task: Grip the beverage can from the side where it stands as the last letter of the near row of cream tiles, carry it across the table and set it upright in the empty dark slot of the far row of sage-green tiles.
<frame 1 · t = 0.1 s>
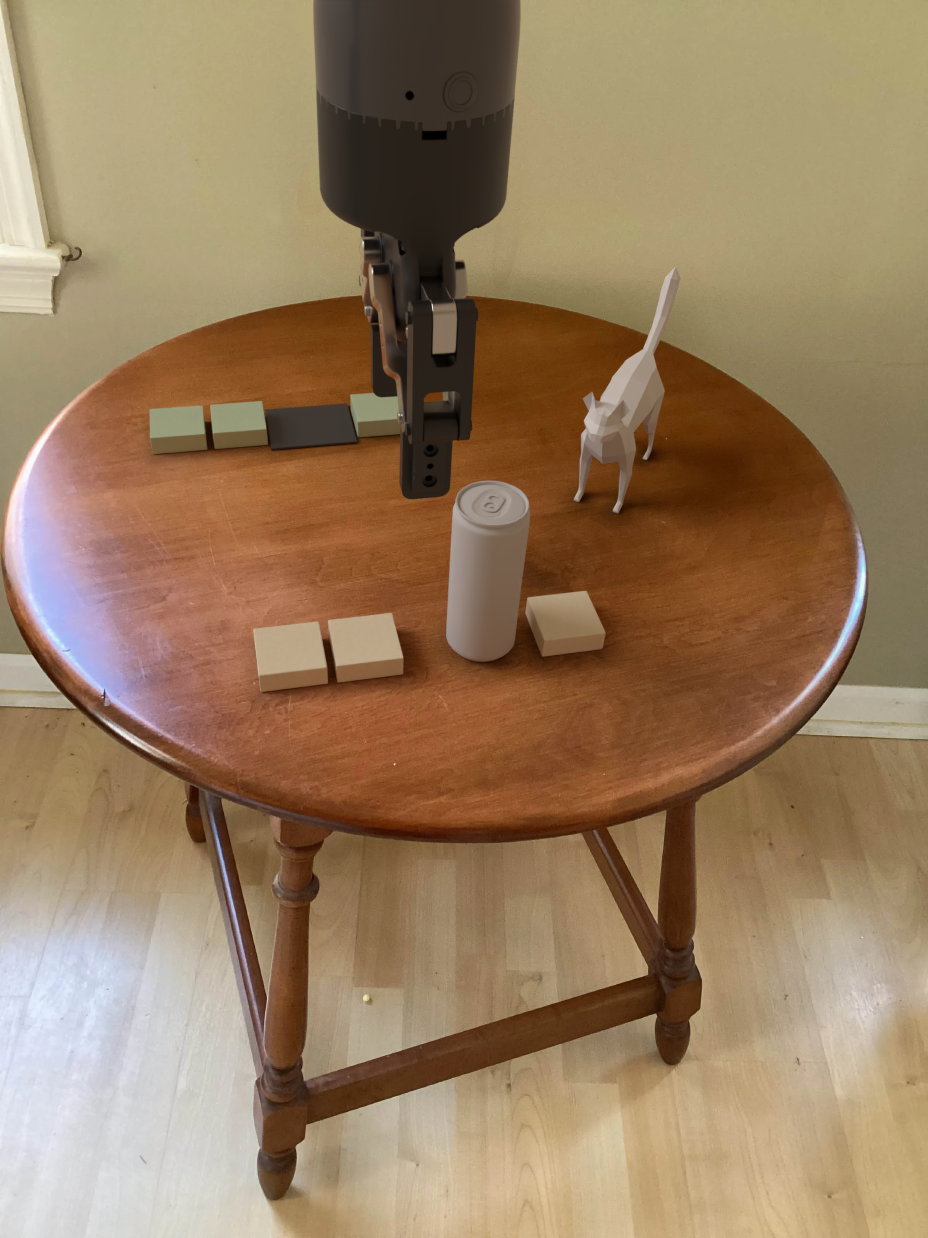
hand: (408, 440, 50), 22 cm above the table, tool pointing down, fingers open, 8 cm apart
near word: (423, 648, 71), on the table
beverage can: (480, 643, 72), on the table
far word: (292, 428, 90), on the table
cat figurine: (615, 471, 88), on the table
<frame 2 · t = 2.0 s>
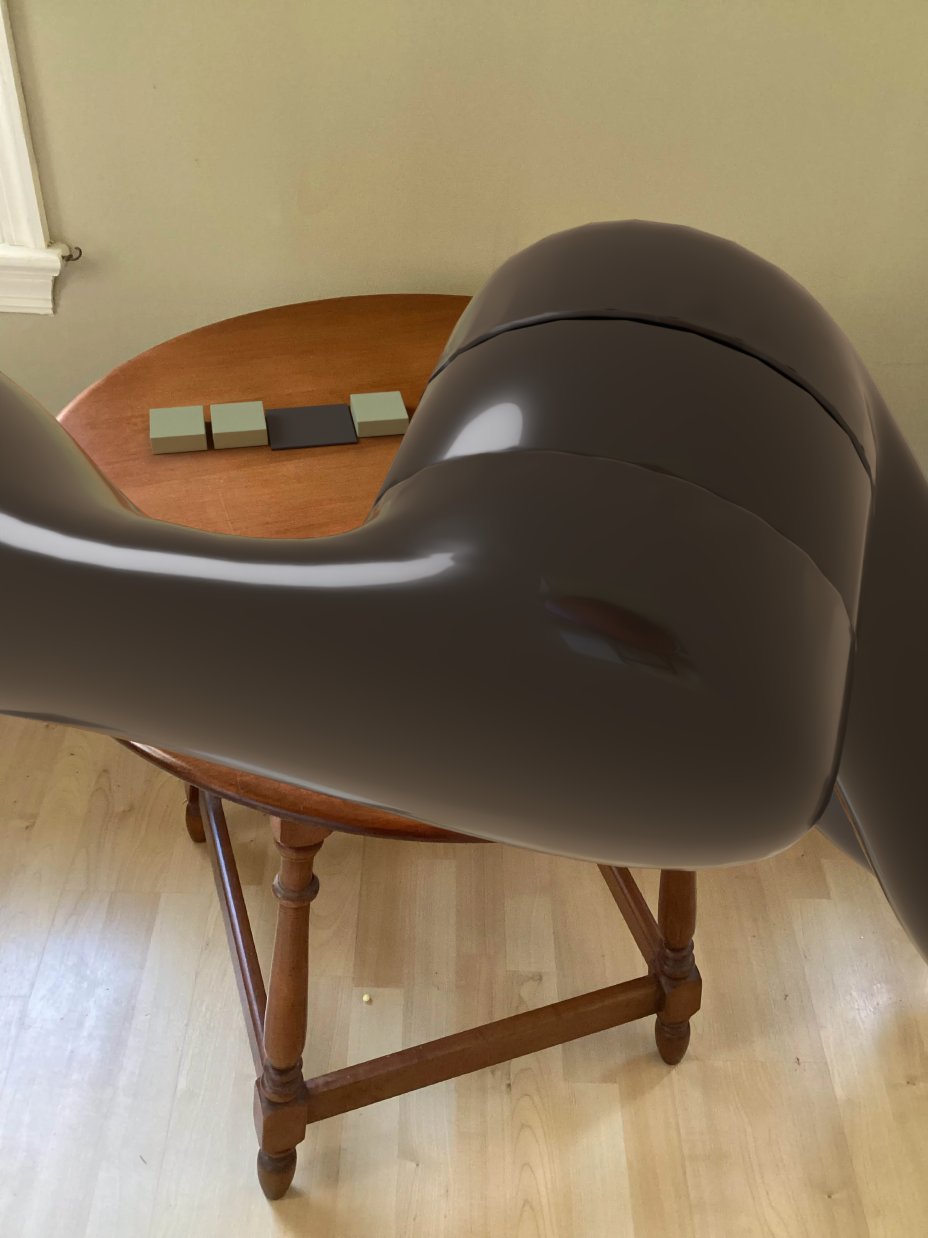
hand: (619, 535, 54), 17 cm above the table, tool horizontal, fingers open, 8 cm apart
nothing on the table moved.
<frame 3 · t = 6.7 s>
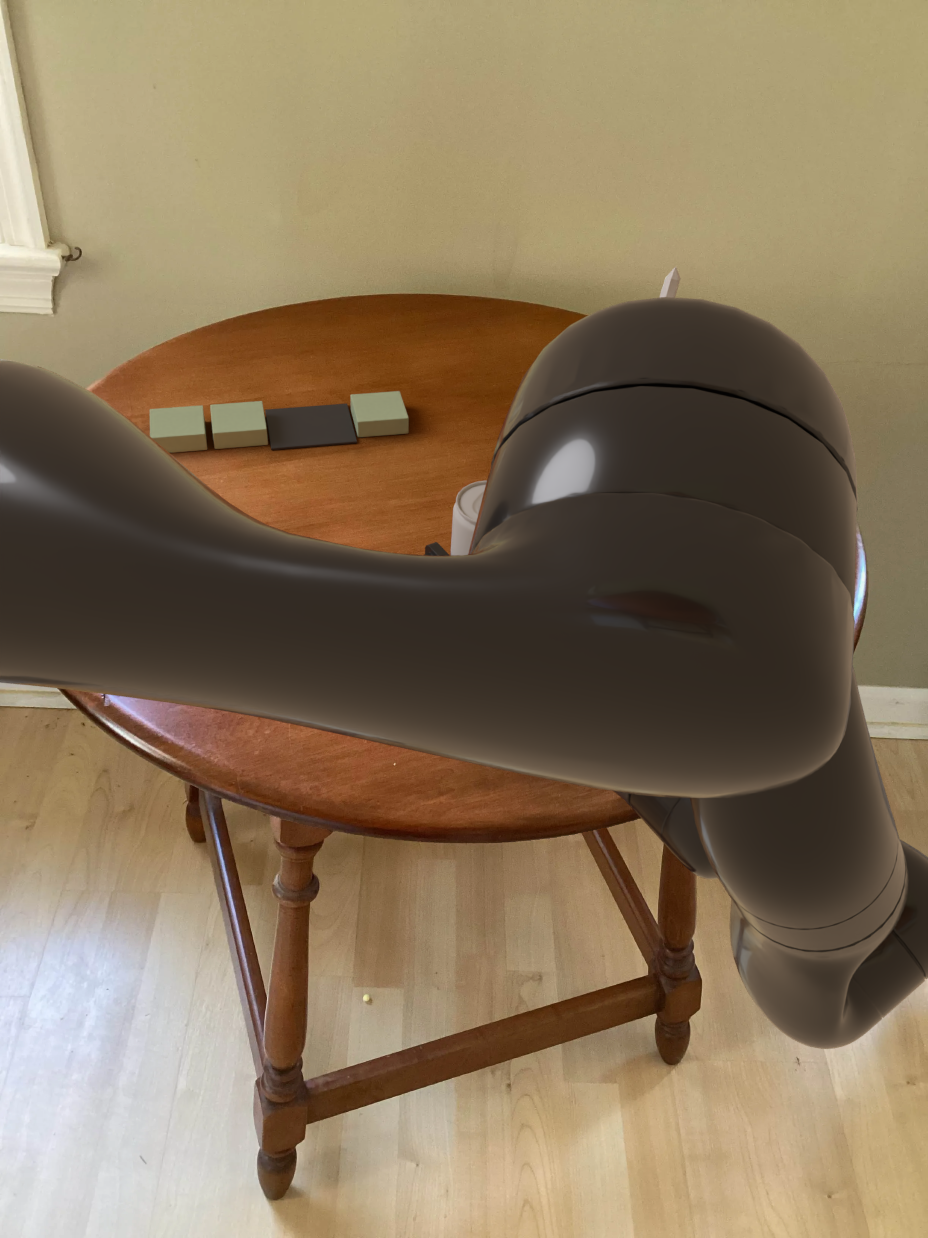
hand: (465, 541, 69), 7 cm above the table, tool horizontal, fingers closed on beverage can, 5 cm apart
beverage can: (480, 643, 72), on the table, touching gripper
everything else where it was.
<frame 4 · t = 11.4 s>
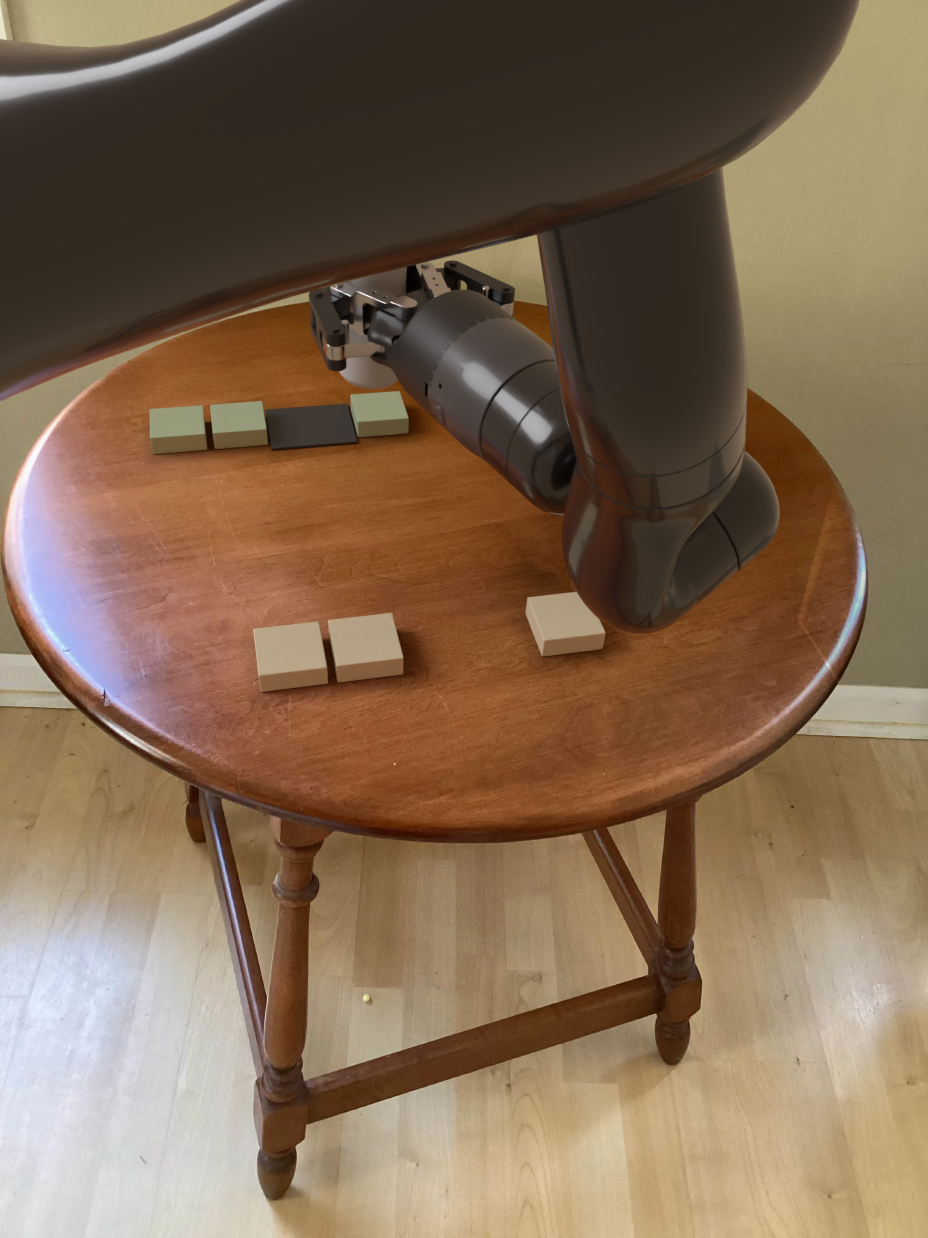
hand: (352, 266, 71), 19 cm above the table, tool horizontal, fingers closed on beverage can, 5 cm apart
beverage can: (372, 377, 75), point 11 cm above the table, touching gripper
everything else where it was.
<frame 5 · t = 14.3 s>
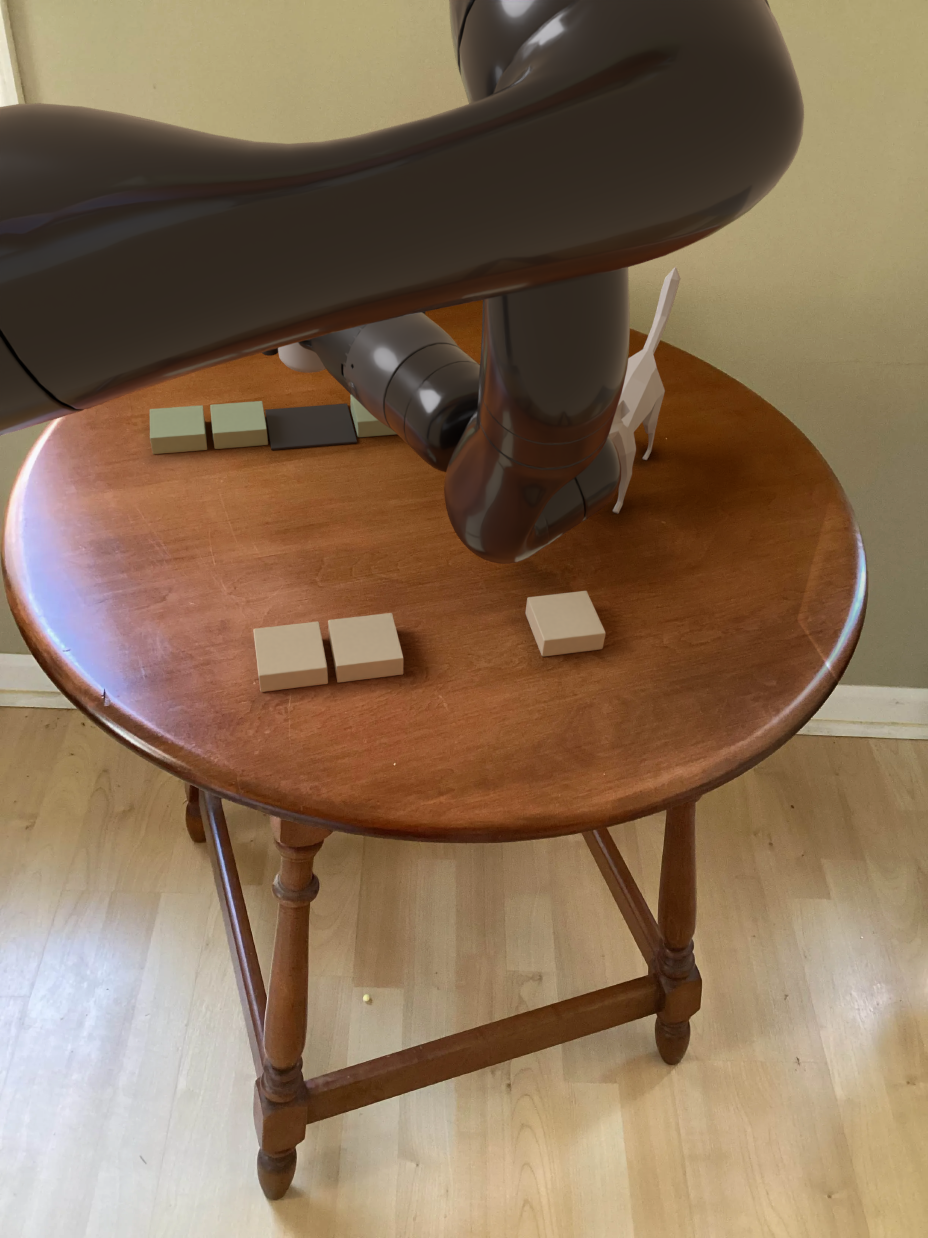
hand: (288, 266, 82), 13 cm above the table, tool horizontal, fingers closed on beverage can, 5 cm apart
beverage can: (309, 362, 86), point 6 cm above the table, touching gripper
everything else where it was.
when the fingers open (7 cm above the table, at t = 16.4 s): beverage can stays where it is, resting on far word.
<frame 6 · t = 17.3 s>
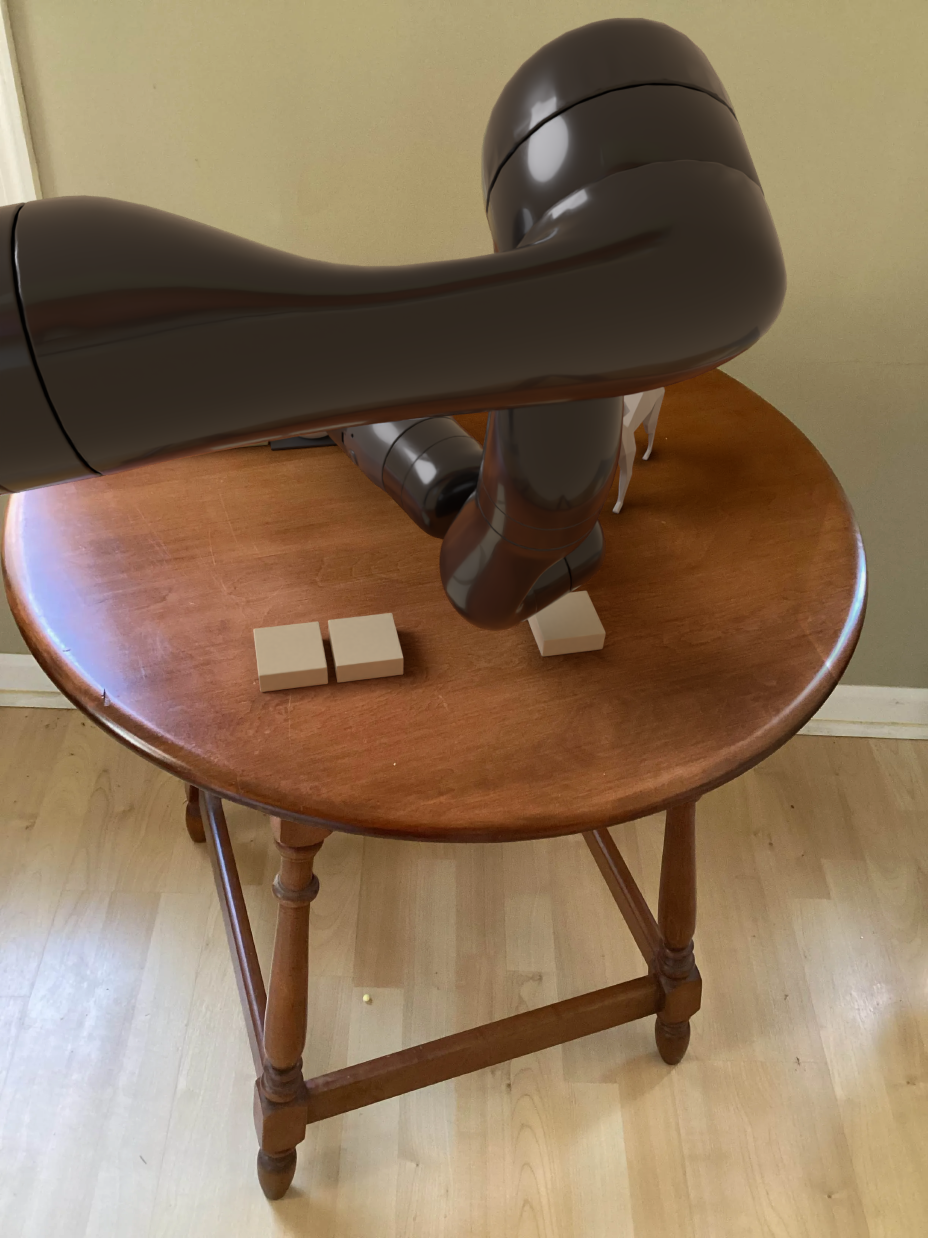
hand: (294, 331, 86), 8 cm above the table, tool horizontal, fingers open, 8 cm apart
beverage can: (312, 427, 90), resting on far word
everything else where it was.
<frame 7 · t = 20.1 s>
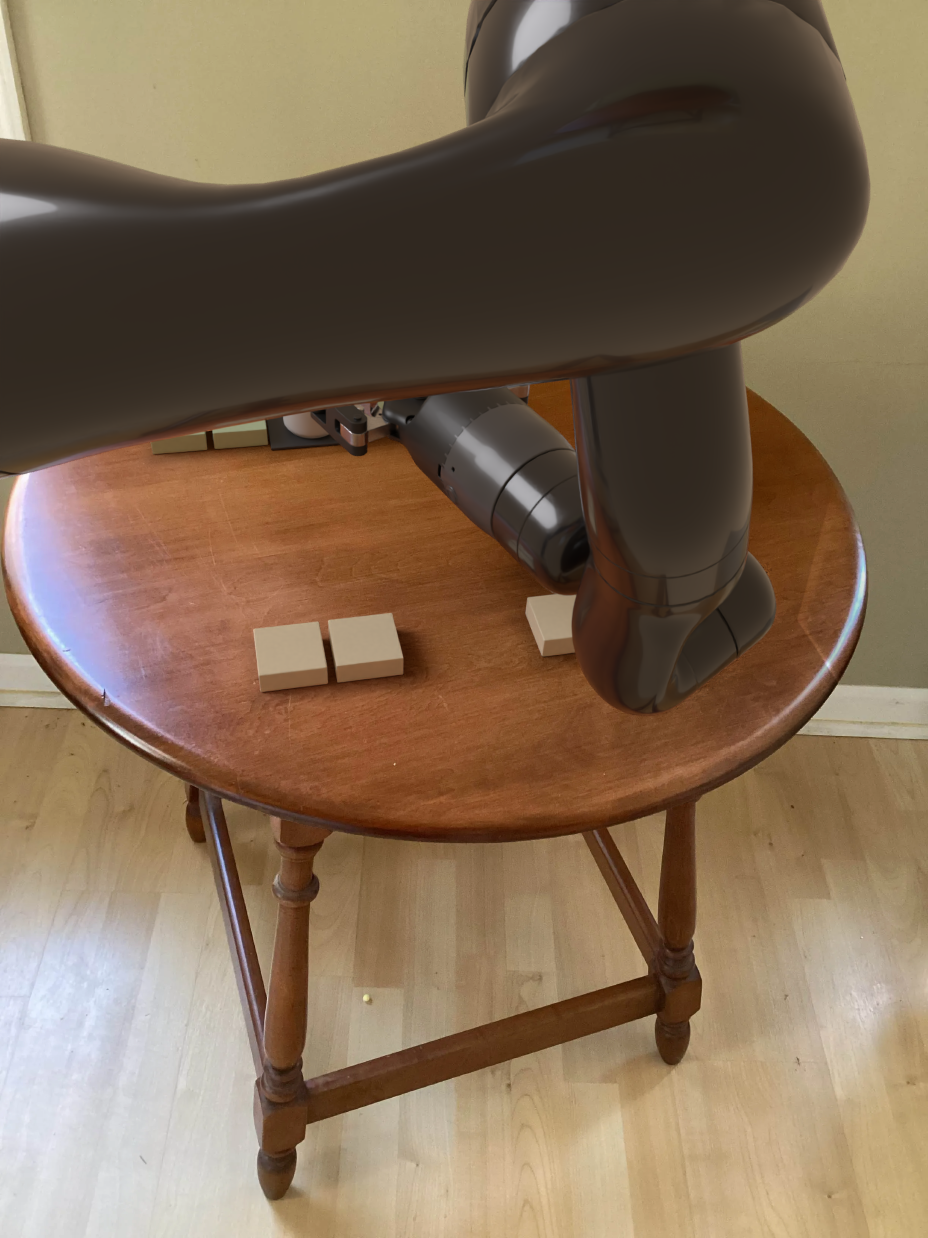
hand: (369, 342, 74), 14 cm above the table, tool horizontal, fingers open, 8 cm apart
nothing on the table moved.
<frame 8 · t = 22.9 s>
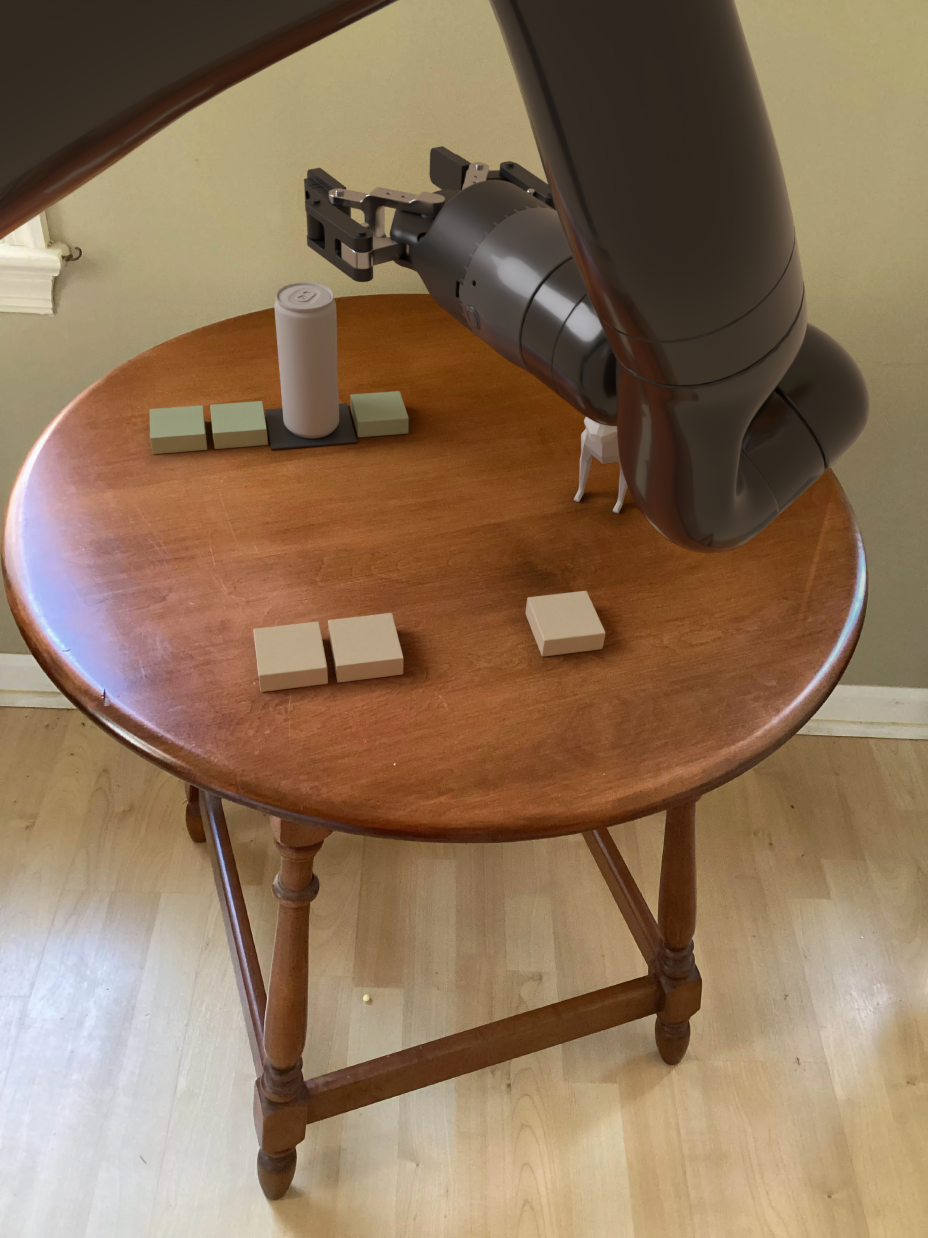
hand: (374, 173, 64), 26 cm above the table, tool horizontal, fingers open, 8 cm apart
nothing on the table moved.
at the end: beverage can 0.2 cm from the target spot on the far word, point 0.0 cm above the far word's base; beverage can tilted 0°; the gripper is holding nothing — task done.
